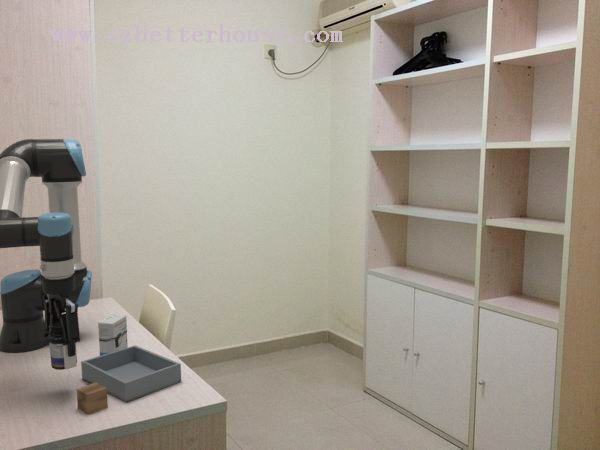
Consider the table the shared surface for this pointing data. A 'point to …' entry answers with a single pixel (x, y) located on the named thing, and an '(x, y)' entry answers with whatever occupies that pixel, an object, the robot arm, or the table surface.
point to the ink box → (112, 334)
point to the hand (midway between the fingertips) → (64, 363)
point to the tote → (131, 372)
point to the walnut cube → (92, 398)
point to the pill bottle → (57, 347)
